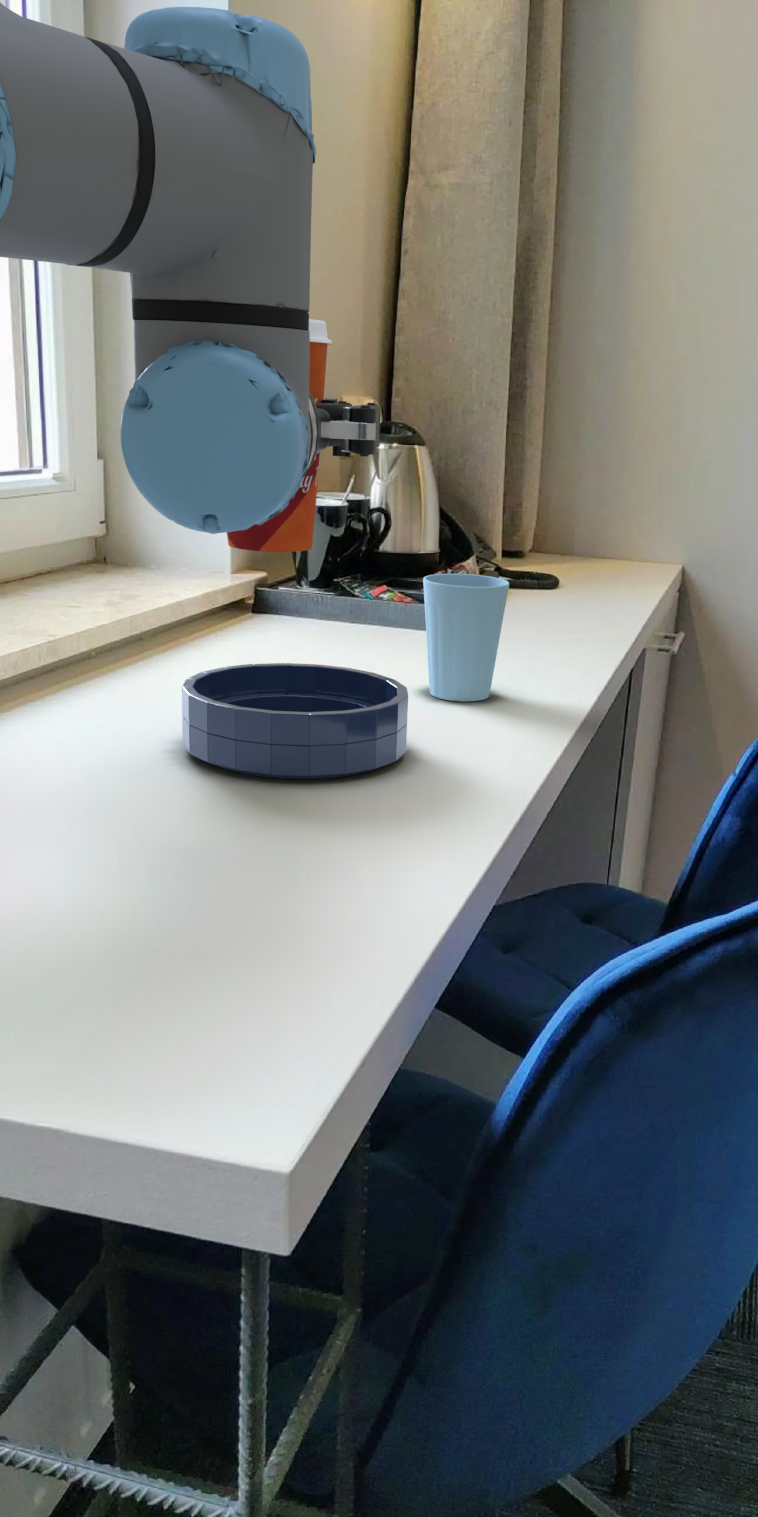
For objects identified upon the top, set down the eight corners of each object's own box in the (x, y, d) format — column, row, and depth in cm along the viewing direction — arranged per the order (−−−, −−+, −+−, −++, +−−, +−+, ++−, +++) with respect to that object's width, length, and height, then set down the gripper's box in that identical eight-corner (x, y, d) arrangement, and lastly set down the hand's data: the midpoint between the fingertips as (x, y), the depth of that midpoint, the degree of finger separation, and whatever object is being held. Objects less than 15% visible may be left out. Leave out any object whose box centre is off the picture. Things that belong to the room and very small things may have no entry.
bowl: (170, 779, 90) (168, 709, 88) (197, 720, 105) (197, 659, 103) (408, 787, 91) (411, 718, 89) (401, 727, 106) (404, 667, 104)
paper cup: (332, 556, 83) (337, 318, 78) (210, 551, 82) (208, 310, 77) (323, 541, 90) (328, 323, 85) (212, 537, 89) (209, 315, 84)
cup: (416, 702, 115) (423, 583, 111) (417, 683, 122) (423, 571, 118) (502, 707, 115) (511, 588, 111) (497, 687, 122) (506, 576, 118)
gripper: (53, 496, 67) (131, 466, 88) (431, 515, 68) (418, 481, 90) (45, 339, 64) (127, 348, 86) (439, 362, 66) (423, 365, 87)
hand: (276, 416), depth 88 cm, fingers closed on paper cup, 7 cm apart
